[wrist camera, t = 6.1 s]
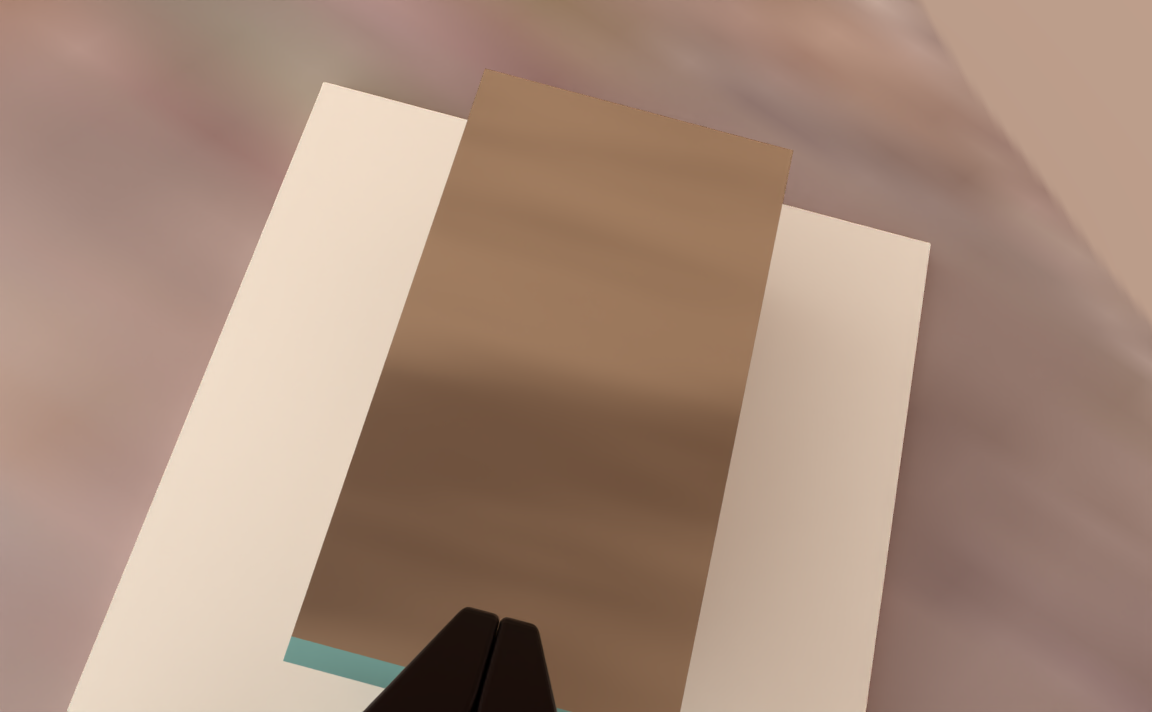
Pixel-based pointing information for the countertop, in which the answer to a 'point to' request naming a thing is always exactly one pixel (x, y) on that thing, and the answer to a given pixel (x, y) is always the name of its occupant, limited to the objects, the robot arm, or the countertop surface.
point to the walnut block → (557, 400)
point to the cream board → (347, 385)
